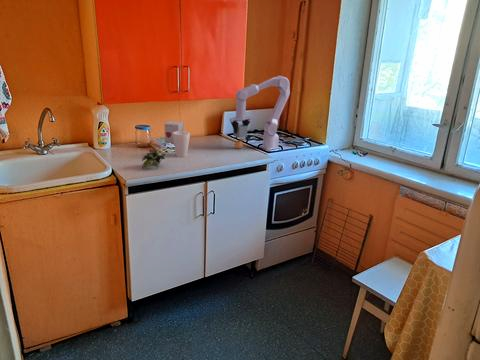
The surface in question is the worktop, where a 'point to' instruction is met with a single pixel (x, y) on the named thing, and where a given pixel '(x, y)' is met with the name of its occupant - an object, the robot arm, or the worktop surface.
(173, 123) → the supplement box
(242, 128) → the grey cube
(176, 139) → the foam cup
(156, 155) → the green leafy clump
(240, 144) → the ball
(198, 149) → the worktop surface
